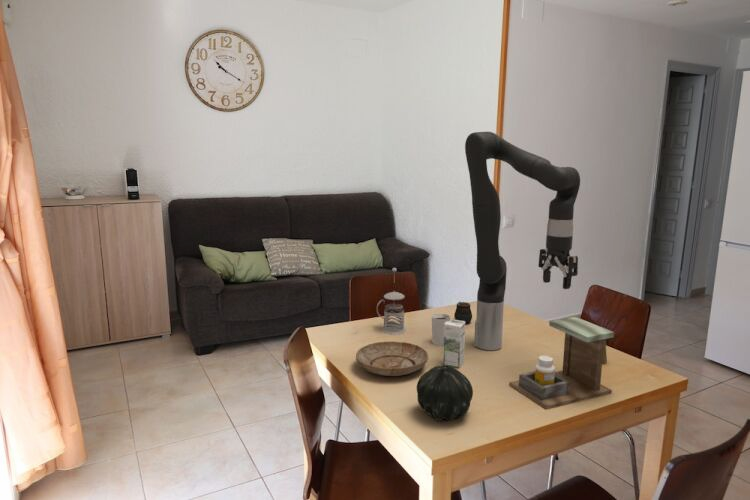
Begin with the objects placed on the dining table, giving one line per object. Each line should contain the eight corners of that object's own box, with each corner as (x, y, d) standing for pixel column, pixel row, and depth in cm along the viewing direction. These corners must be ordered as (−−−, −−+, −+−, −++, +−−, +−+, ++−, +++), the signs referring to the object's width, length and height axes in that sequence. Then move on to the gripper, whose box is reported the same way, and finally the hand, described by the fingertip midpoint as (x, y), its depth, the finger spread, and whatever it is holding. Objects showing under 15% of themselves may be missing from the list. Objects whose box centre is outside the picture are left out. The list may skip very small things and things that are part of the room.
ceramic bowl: (442, 367, 170) (443, 353, 169) (392, 391, 154) (392, 375, 153) (391, 348, 186) (391, 335, 185) (341, 367, 170) (340, 353, 169)
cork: (608, 365, 171) (611, 333, 169) (589, 363, 172) (591, 331, 170) (604, 357, 177) (607, 327, 175) (585, 356, 178) (588, 325, 176)
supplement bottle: (531, 386, 154) (532, 354, 152) (548, 385, 155) (550, 354, 153) (538, 394, 149) (540, 362, 147) (556, 393, 149) (558, 361, 147)
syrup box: (464, 362, 174) (465, 320, 171) (459, 368, 169) (460, 325, 166) (447, 359, 176) (449, 318, 173) (442, 365, 171) (443, 323, 168)
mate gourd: (473, 321, 215) (474, 297, 213) (469, 326, 208) (470, 302, 206) (456, 318, 218) (457, 295, 216) (451, 324, 211) (452, 300, 209)
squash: (446, 374, 152) (425, 347, 142) (489, 393, 141) (470, 365, 132) (420, 416, 147) (397, 391, 137) (463, 439, 136) (441, 414, 127)
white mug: (452, 341, 193) (452, 315, 191) (445, 347, 187) (446, 320, 185) (435, 338, 196) (435, 312, 194) (428, 344, 190) (428, 317, 188)
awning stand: (546, 409, 142) (550, 345, 139) (509, 385, 157) (512, 326, 153) (611, 393, 152) (617, 332, 148) (570, 371, 166) (575, 316, 163)
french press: (407, 334, 199) (407, 270, 195) (376, 334, 200) (376, 270, 195) (406, 326, 209) (406, 265, 204) (376, 325, 209) (376, 264, 204)
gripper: (586, 236, 154) (582, 289, 157) (552, 229, 166) (549, 279, 170) (567, 238, 151) (563, 292, 154) (533, 231, 164) (531, 281, 167)
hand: (556, 285), depth 162 cm, fingers open, 8 cm apart
